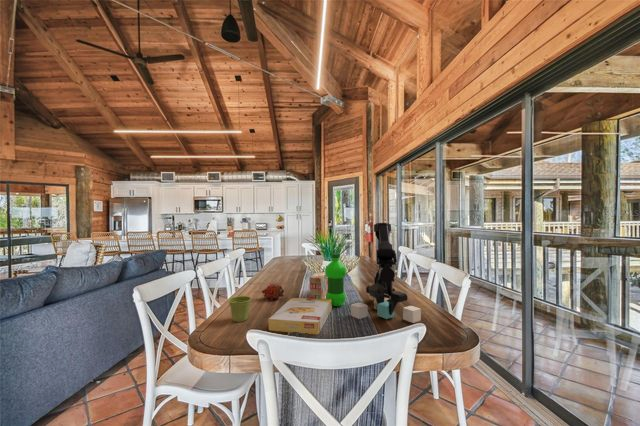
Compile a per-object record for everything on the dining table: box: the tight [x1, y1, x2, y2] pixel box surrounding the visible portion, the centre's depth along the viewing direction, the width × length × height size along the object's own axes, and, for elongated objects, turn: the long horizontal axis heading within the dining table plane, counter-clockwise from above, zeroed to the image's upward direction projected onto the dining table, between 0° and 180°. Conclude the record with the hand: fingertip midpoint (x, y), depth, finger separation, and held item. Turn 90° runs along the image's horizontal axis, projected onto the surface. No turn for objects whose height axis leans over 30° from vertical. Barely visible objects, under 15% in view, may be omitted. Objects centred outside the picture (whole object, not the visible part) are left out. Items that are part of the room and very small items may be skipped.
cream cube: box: [402, 305, 422, 324], centre depth 119 cm, size 5×5×5 cm
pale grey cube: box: [350, 301, 368, 320], centre depth 124 cm, size 5×5×5 cm
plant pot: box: [228, 295, 252, 323], centre depth 121 cm, size 9×9×9 cm
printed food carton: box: [309, 271, 328, 299], centre depth 157 cm, size 21×6×12 cm, turn 163°
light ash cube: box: [373, 297, 388, 310], centre depth 133 cm, size 5×5×5 cm
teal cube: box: [376, 302, 395, 320], centre depth 122 cm, size 5×5×5 cm
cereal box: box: [267, 297, 333, 335], centre depth 121 cm, size 20×6×28 cm
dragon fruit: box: [261, 283, 285, 301], centre depth 150 cm, size 8×8×12 cm
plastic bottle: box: [324, 252, 347, 307], centre depth 139 cm, size 10×10×25 cm
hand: (385, 313), depth 122 cm, fingers closed on teal cube, 5 cm apart
